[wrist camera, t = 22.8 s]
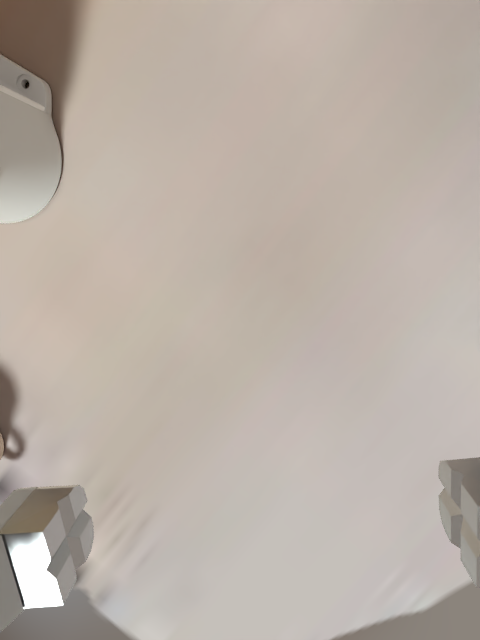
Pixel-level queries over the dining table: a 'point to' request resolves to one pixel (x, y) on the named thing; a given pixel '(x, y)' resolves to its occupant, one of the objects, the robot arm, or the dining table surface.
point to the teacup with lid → (1, 446)
